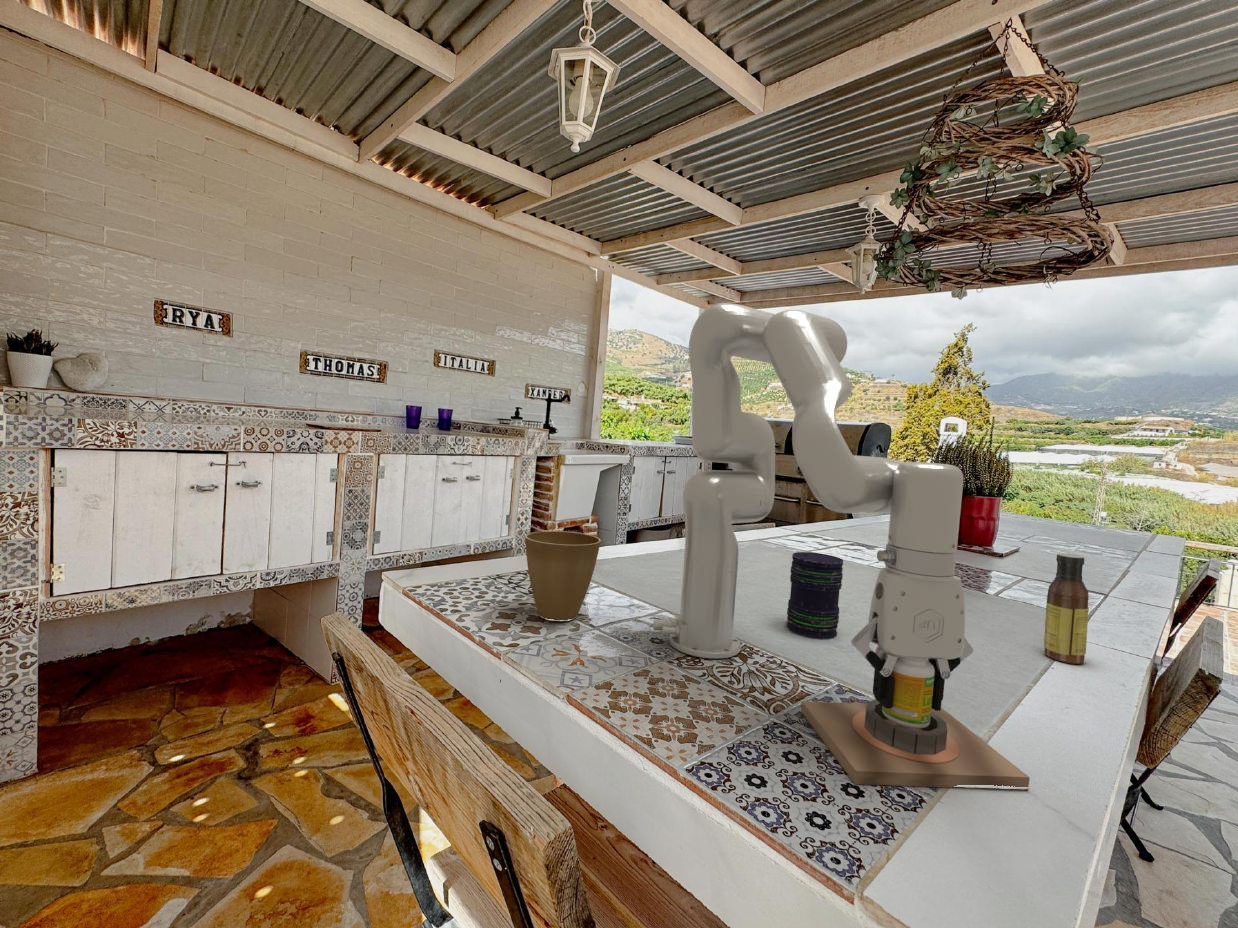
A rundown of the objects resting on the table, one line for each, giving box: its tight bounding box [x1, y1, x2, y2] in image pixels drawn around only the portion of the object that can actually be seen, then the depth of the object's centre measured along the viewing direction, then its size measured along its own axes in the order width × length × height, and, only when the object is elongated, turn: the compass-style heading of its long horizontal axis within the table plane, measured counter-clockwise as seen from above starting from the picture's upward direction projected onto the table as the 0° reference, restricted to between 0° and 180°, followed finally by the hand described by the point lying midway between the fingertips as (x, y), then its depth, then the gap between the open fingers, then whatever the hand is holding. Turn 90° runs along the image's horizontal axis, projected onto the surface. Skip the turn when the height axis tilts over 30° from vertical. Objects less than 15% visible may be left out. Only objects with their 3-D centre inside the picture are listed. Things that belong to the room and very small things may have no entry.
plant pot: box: [524, 530, 602, 620], centre depth 110 cm, size 15×15×16 cm
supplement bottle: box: [882, 657, 935, 728], centre depth 70 cm, size 5×5×10 cm
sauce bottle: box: [1043, 552, 1090, 665], centre depth 105 cm, size 7×6×20 cm
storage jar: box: [786, 551, 844, 640], centre depth 112 cm, size 10×10×15 cm
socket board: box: [800, 698, 1030, 788], centre depth 70 cm, size 20×16×4 cm
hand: (906, 702), depth 70 cm, fingers closed on supplement bottle, 5 cm apart
